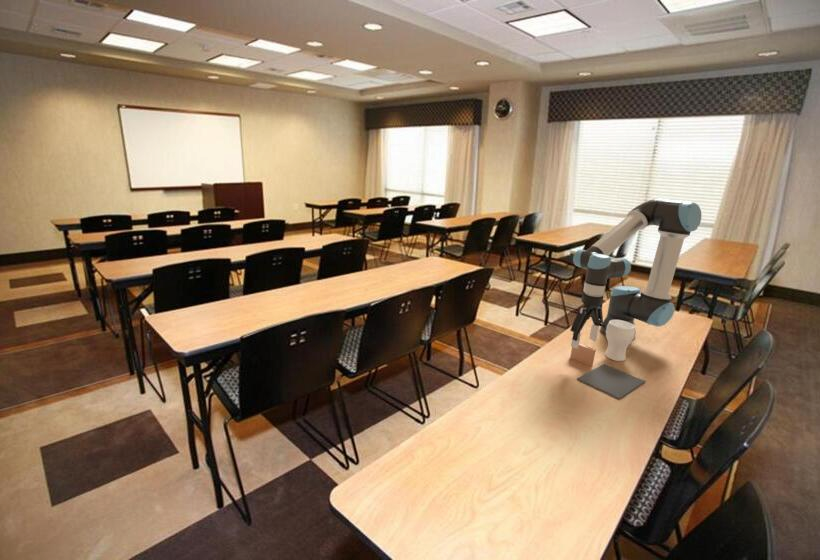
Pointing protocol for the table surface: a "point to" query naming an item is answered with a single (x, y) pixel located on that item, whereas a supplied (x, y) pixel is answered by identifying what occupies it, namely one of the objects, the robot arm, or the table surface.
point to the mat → (611, 381)
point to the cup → (618, 339)
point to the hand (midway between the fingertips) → (583, 343)
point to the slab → (583, 354)
